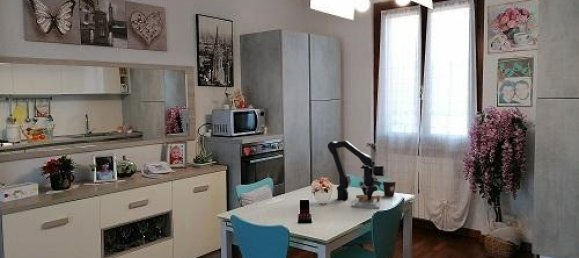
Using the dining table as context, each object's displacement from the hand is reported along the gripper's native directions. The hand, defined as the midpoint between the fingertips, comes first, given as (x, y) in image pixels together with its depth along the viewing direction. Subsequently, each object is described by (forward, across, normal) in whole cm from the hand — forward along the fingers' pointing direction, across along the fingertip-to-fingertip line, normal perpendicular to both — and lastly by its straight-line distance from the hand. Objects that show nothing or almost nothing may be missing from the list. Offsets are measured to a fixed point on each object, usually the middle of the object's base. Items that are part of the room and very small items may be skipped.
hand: (368, 199), depth 294 cm
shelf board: (+2, 0, 0) cm, 2 cm away
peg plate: (+1, -12, +6) cm, 13 cm away
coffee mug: (+1, +14, -18) cm, 23 cm away
